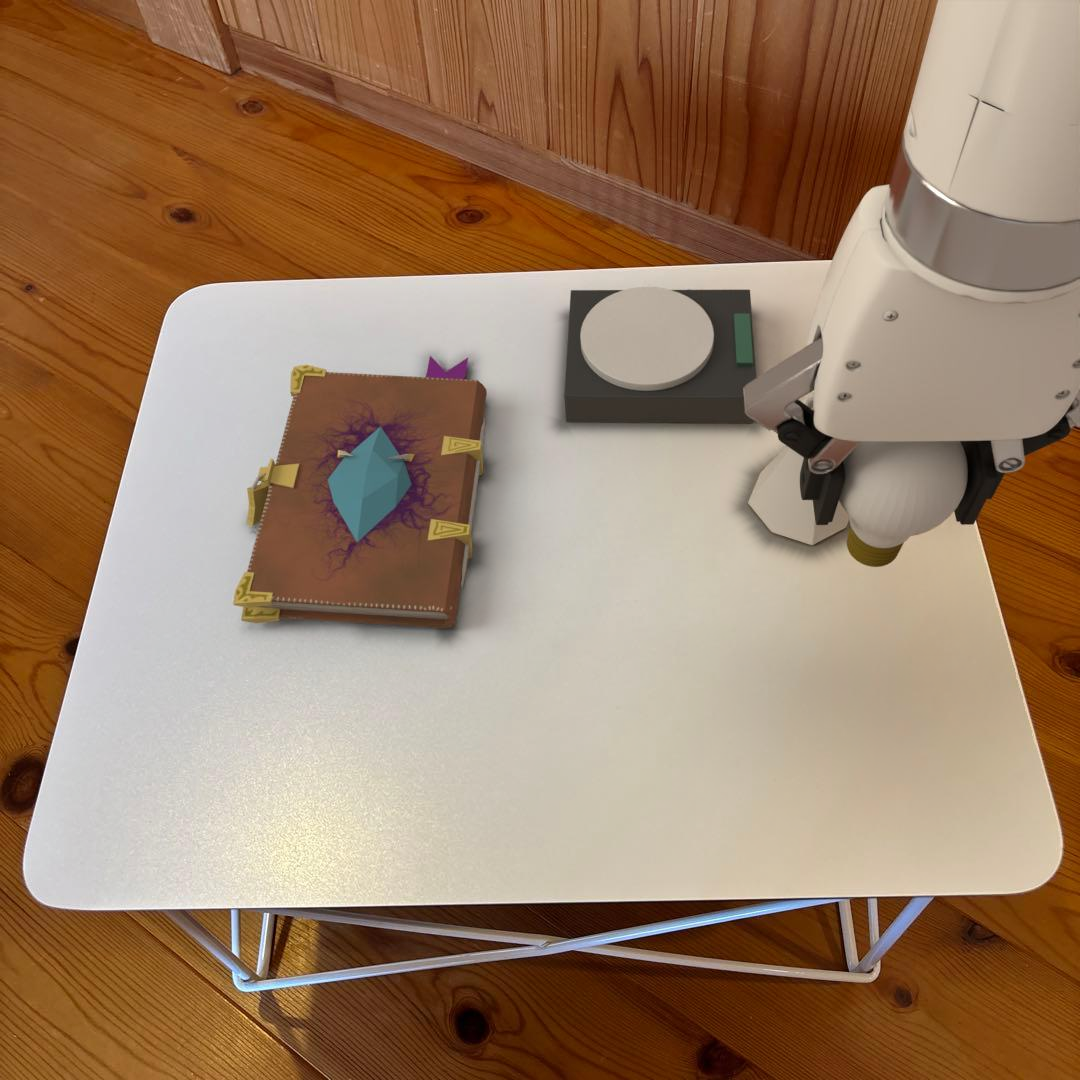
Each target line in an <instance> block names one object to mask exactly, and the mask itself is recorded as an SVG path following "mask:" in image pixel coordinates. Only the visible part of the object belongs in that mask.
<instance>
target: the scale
mask: <svg viewBox="0 0 1080 1080" xmlns="http://www.w3.org/2000/svg"><path fill="white" fill-rule="evenodd" d="M754 342H755V341H754V327H753V312H752V298H751V290H750V289H668V288H664V287H656V286H637V287H632V288H627V289H571V290H570V297H569V311H568V329H567V345H566V346H567V347H566V359H565V360H566V361H565V377H564V378H565V379H564V394H563V397H564V398H563V399H564V413H565V416H564V417H565V422H566V423H634V424H635V423H637V424H638V423H639V424H640V423H642V424H643V423H647V424H649V423H650V424H651V423H652V424H653V423H659V424H662V423H664V424H753V423H754V420H753V419H751V418H750V417H748V416H747V415H746V414H745V409H744V397H743V388H744V386H745V385H746V384H748V383H749V382H751V381H753V380H754V379H756V378H757V371H756V357H755V343H754Z"/></svg>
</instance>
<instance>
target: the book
mask: <svg viewBox="0 0 1080 1080" xmlns="http://www.w3.org/2000/svg"><path fill="white" fill-rule="evenodd" d="M468 362H469V357H466V358H465V359H463V360H462V361H460V362H459V363H457V364H455V365H454V366H452V367H451V368H450V369H448V370H445V369H444V368H443V367H442V365H440V364H439V363H438V362H437V361H436V360H435V359H434V358H433V357H432V356H431V355H429V359H428V363H427V369H426V374H425V376H409V375H408V376H407V375H389V374H371V373H350V372H333V371H327V369H326V368H322V367H317V366H314V365H309V364H301V365H294V366H293V368H292V370H291V372H290V389H289V390H290V391H289V392H290V396H291V397H292V400H291V404H290V407H289V412H288V415H287V419H286V423H285V427H284V430H283V435H282V438H281V442H280V444H279V445H280V446H279V450H278V453H277V457H276V460H274V458H270V459H269V463H268V466H262V467H261V466H260V467H259V471H258V474H257V477H256V478H255V480H254V482H253V484H252V486H249V487H247V488H246V490H247V500H248V509H247V510H248V511H247V519H246V525H248V526H251V527H254V526H256V525H257V524H258V523H259V525H258V528H257V533H256V537H255V540H254V544H253V548H252V551H251V555H250V559H249V563H248V566H247V570H246V571H245V572H244V573H243V574H242V576H241V578H240V580H239V582H238V584H237V586H236V588H235V590H234V594H233V595H234V596H233V602H232V604H233V606H237V607H241V608H242V612H241V622H246V623H252V624H264V623H265V624H266V623H273V622H280V621H281V619H290V620H291V619H292V620H305V621H307V620H308V621H322V622H324V621H325V622H340V623H356V624H369V625H370V624H374V625H390V626H405V627H420V628H421V627H422V628H437V629H449V628H450V627H452V626H454V625H455V624H456V623H457V617H458V610H459V603H460V595H461V590H462V591H463V587H464V582H465V578H466V575H467V568H468V560H469V559H472V558H473V551H474V548H473V539H472V531H473V524H474V514H475V510H476V509H475V507H476V502H477V501H476V499H477V493H478V487H479V486H478V485H479V479H480V476H483V473H484V457H483V448H484V440H485V431H486V430H485V427H486V417H484V416H485V408H486V403H487V402H486V401H487V396H488V395H487V394H488V393H487V392H488V391H487V388H486V387H485V385H484V384H483V383H482V382H481V381H479V380H478V379H468V378H467V379H466V375H467V369H468ZM259 482H260V483H259Z"/></svg>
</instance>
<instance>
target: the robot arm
mask: <svg viewBox="0 0 1080 1080" xmlns="http://www.w3.org/2000/svg"><path fill="white" fill-rule="evenodd" d="M910 103H911V104H910V105H909V106H910V108H909V110H908V114H907V118H906V122H905V126H904V129H903V132H902V135H901V139H900V142H899V147H898V151H897V155H896V158H895V161H894V167H893V170H892V174H891V177H890V181H889V184H883V185H876V186H873V187H872V188H870V190H868V191H867V192H866V193H865V194H864V196H863V198H862V199H861V200H860V202H859V203H858V205H857V207H856V209H855V211H854V213H853V215H852V216H851V218H850V219H849V220H850V221H849V222H848V225H847V226H846V228H845V230H844V232H843V234H842V237H841V239H840V241H839V242H838V245H837V247H836V250H835V253H834V256H833V257H832V260H831V262H830V264H829V267H828V270H827V273H826V275H825V278H824V280H823V284H822V286H821V289H820V292H819V295H818V298H817V301H816V304H815V307H814V311H813V313H812V316H811V321H810V323H809V327H808V331H807V334H806V340H805V345H804V347H803V348H802V349H800V350H799V351H797V352H795V353H794V354H792V355H790V356H789V357H787V358H785V359H784V360H783V361H781V362H779V363H777V365H775V366H773V367H771V368H770V369H769V370H767V371H765V372H764V373H762V374H760V375H759V376H756V379H754V380H753V381H751V382H749V383H748V384H746V385H745V386H744V388H743V397H744V409H745V414H746V415H747V416H748V417H750V418H751V419H753V422H756V423H757V424H758V425H760V426H761V427H763V428H765V429H766V430H768V431H769V432H770V431H773V432H774V433H775V434H777V438H778V441H780V442H781V443H782V444H783V445H785V447H786V446H788V447H789V448H791V449H792V450H794V451H795V452H796V453H798V454H799V455H801V456H802V457H804V459H803V463H802V467H801V472H800V492H801V498H802V500H813V507H814V515H815V522H816V525H828V523H829V522H832V521H833V518H834V514H835V511H836V508H837V505H838V502H839V498H840V495H841V492H842V489H843V485H844V482H845V470H844V463H843V460H844V459H845V458H846V457H847V456H848V455H849V454H850V453H851V452H852V451H853V450H854V449H855V448H856V447H857V446H858V445H859V444H860V442H861V441H888V442H901V441H960V443H961V445H962V446H963V448H964V452H965V455H966V458H967V464H968V480H967V486H966V489H965V493H964V495H963V498H962V500H961V501H960V503H959V505H958V507H957V508H956V510H955V511H954V512H953V514H954V518H955V521H956V522H957V523H960V525H964V526H965V525H966V526H967V525H969V526H971V525H974V524H975V523H976V521H977V519H978V517H979V515H980V513H981V512H982V509H983V507H984V506H985V503H986V501H987V500H992V499H993V497H994V496H995V493H996V492H997V490H998V488H999V486H1000V484H1001V482H1002V480H1003V478H1004V476H1005V475H1006V474H1010V473H1014V472H1017V471H1019V470H1021V469H1022V468H1023V467H1025V465H1026V459H1025V458H1026V456H1028V455H1030V454H1032V453H1034V452H1036V451H1039V450H1041V449H1043V448H1045V447H1048V446H1050V445H1052V444H1054V443H1056V442H1059V441H1061V440H1063V439H1065V438H1067V436H1069V434H1070V433H1071V428H1074V427H1077V428H1080V0H937V2H936V7H935V11H934V15H933V17H932V23H931V26H930V29H929V34H928V38H927V41H926V45H925V50H924V53H923V57H922V60H921V64H920V68H919V72H918V76H917V79H916V83H915V87H914V91H913V95H912V99H911V102H910ZM812 392H813V394H814V397H813V407H812V408H809V407H808V406H807V405H805V404H804V403H803V401H801V400H800V399H802V398H803V397H805V396H806V395H809V394H810V393H812Z"/></svg>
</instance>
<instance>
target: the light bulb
mask: <svg viewBox="0 0 1080 1080" xmlns="http://www.w3.org/2000/svg"><path fill="white" fill-rule="evenodd" d="M843 463H844V470H845V482H844V485H843V489H842V492H841V495H840V498H839V501H840V503H841V505H842V506H843V508H844V510H845V511H846V512H847V514H848V515H849V521H848V522H849V524H850V525H849V530H848V533H847V538H846V548H847V551H848V552H849V555H850V556H851V557H852V558H853V559H854V560H855V561H857V562H858V563H859V564H861V565H864V566H867V567H870V568H871V567H872V568H881V567H885V566H887V565H889V564H891V563H893V562H894V561H895V560H896V559H897V556H899V553H900V552H901V550H902V548H903V546H904V544H905V542H906V541H908V540H909V539H910V538H911V537H915V536H919V535H922V534H925V533H928V532H930V531H932V530H934V529H935V528H937V527H939V526H940V525H941V524H943V523H944V522H945V521H947V520H948V519H949V518H950V517H951V516H952V515H953V514H954V511H955V510H956V508H957V507H958V505H959V503H960V501H961V500H962V498H963V495H964V493H965V489H966V486H967V480H968V464H967V458H966V455H965V452H964V448H963V446H962V445H961V443H960V441H901V442H888V441H861V442H860V444H859V445H858V446H857V447H856V448H855V449H854V450H853V451H852V452H851V453H850V454H849V455H848V456H847V457H846V458H845V459H844V460H843Z"/></svg>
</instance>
